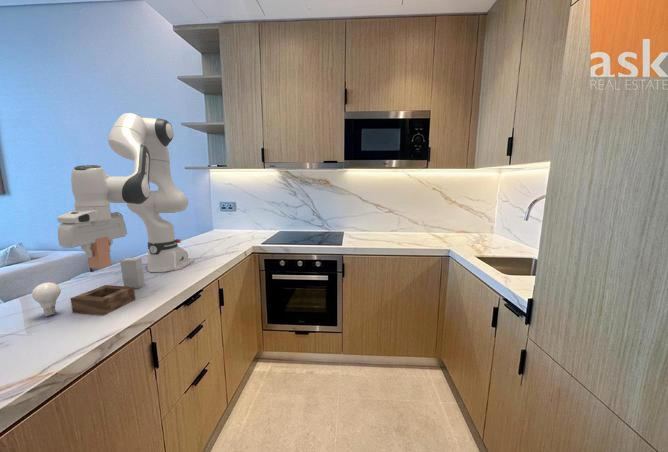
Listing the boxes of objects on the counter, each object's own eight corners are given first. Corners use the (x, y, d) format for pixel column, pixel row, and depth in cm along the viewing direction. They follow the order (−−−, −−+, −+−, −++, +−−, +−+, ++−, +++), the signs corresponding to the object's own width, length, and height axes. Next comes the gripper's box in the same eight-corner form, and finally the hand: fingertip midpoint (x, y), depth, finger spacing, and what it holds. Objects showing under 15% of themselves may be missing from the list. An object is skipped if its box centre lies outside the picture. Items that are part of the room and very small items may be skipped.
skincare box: (145, 284, 115) (142, 257, 113) (139, 288, 111) (135, 260, 109) (130, 285, 114) (126, 257, 113) (122, 289, 110) (119, 260, 108)
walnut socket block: (107, 297, 102) (105, 284, 101) (135, 299, 100) (134, 286, 100) (72, 312, 90) (70, 298, 89) (104, 315, 89) (102, 300, 88)
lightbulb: (69, 310, 91) (64, 279, 90) (50, 320, 85) (45, 286, 83) (50, 310, 91) (44, 279, 89) (29, 320, 85) (23, 286, 83)
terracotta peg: (101, 264, 95) (97, 236, 94) (111, 265, 95) (107, 237, 93) (89, 267, 91) (85, 238, 90) (99, 268, 91) (96, 239, 89)
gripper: (114, 211, 101) (118, 247, 103) (50, 218, 81) (57, 262, 83) (129, 211, 100) (133, 248, 102) (68, 218, 80) (75, 263, 82)
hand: (98, 254), depth 92 cm, fingers closed on terracotta peg, 4 cm apart
